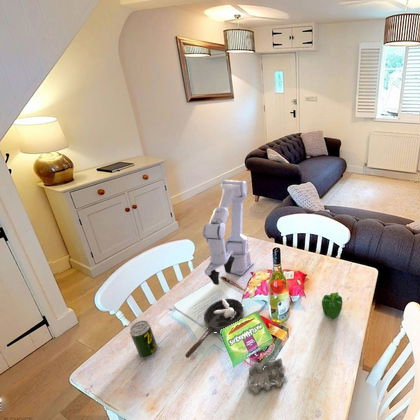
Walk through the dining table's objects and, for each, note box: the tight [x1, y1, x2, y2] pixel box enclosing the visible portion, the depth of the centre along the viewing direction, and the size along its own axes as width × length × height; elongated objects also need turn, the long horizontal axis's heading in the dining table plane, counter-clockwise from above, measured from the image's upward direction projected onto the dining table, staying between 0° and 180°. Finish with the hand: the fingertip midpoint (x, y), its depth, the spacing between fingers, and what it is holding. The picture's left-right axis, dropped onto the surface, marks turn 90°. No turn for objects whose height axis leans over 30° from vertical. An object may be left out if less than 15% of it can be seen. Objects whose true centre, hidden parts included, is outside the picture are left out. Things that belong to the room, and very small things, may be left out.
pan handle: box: [184, 327, 213, 359], centre depth 92 cm, size 12×2×2 cm, turn 161°
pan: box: [203, 298, 245, 335], centre depth 104 cm, size 14×14×4 cm
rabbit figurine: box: [214, 298, 236, 320], centre depth 105 cm, size 6×4×8 cm
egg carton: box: [248, 358, 285, 394], centre depth 83 cm, size 11×8×4 cm
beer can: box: [129, 320, 158, 359], centre depth 89 cm, size 5×5×12 cm
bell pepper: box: [321, 291, 343, 320], centre depth 106 cm, size 8×8×10 cm
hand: (222, 278), depth 111 cm, fingers open, 7 cm apart
